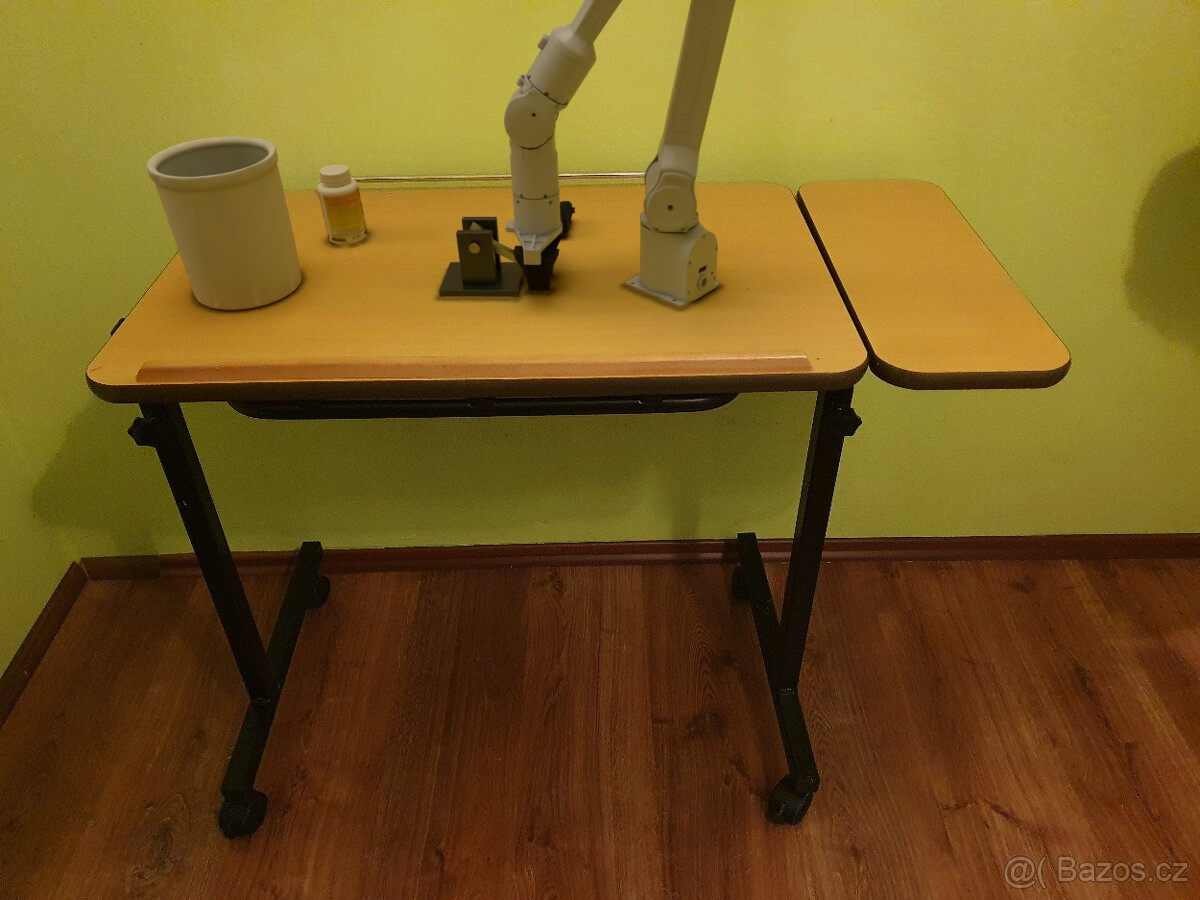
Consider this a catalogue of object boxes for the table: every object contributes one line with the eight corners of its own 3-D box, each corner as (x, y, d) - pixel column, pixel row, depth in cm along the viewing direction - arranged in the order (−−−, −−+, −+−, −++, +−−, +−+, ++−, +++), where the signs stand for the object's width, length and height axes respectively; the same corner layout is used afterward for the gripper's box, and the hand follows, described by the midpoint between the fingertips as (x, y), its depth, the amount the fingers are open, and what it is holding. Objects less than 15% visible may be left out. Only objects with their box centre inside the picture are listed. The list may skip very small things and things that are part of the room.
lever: (545, 277, 119) (555, 258, 117) (542, 289, 117) (553, 269, 115) (465, 237, 116) (474, 217, 114) (460, 248, 114) (470, 227, 112)
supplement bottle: (375, 239, 130) (361, 169, 124) (339, 250, 127) (324, 180, 121) (357, 227, 133) (343, 158, 127) (322, 237, 131) (306, 168, 124)
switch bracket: (524, 270, 121) (519, 211, 116) (517, 299, 115) (512, 238, 110) (451, 269, 122) (443, 211, 117) (439, 298, 115) (430, 238, 110)
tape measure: (568, 242, 127) (567, 217, 125) (520, 240, 128) (518, 216, 126) (575, 222, 133) (574, 198, 130) (530, 220, 134) (528, 196, 131)
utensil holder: (213, 261, 126) (173, 135, 115) (319, 259, 125) (289, 132, 114) (173, 314, 114) (124, 179, 103) (290, 311, 114) (254, 176, 103)
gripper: (510, 168, 116) (518, 264, 124) (494, 214, 105) (503, 317, 113) (565, 168, 116) (569, 265, 124) (555, 215, 104) (559, 318, 113)
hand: (541, 290), depth 118 cm, fingers closed on lever, 3 cm apart
